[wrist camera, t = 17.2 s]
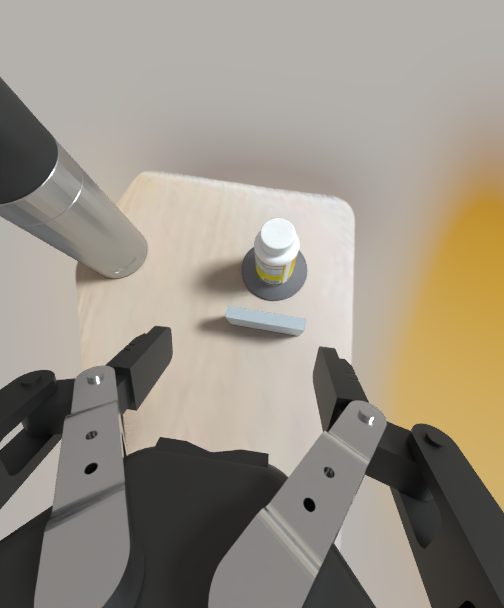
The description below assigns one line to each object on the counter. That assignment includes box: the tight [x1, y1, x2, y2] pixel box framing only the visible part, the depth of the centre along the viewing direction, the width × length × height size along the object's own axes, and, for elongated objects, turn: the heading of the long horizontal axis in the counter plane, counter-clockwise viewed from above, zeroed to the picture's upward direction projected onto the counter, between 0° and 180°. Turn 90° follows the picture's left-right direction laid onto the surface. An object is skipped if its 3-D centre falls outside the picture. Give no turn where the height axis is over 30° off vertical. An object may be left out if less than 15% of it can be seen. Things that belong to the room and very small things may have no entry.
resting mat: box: [242, 247, 307, 301], centre depth 36 cm, size 10×10×1 cm
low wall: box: [225, 306, 306, 336], centre depth 31 cm, size 10×2×5 cm, turn 80°
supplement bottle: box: [254, 218, 299, 286], centre depth 31 cm, size 6×6×10 cm
